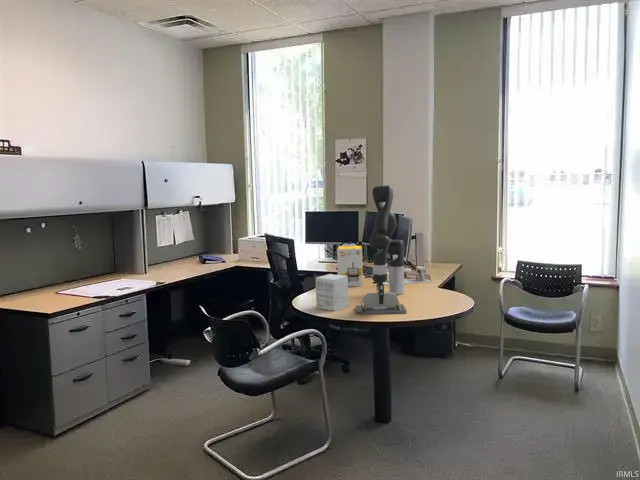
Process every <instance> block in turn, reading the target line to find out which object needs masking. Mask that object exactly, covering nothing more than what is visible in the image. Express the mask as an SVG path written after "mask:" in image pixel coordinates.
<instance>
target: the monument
mask: <svg viewBox="0 0 640 480" xmlns="http://www.w3.org/2000/svg"><path fill="white" fill-rule="evenodd" d="M414 269H415V278H409V279H408V278H407V279H404V285H411V284H420V283H429V282H432V280H430V279H427V278H426V270H427V268H426V267H425V266H424V267H423V266H415V267H414ZM383 284H384V286H388V287H389V281H386V282H383Z"/></svg>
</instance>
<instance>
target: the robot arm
mask: <svg viewBox="0 0 640 480" xmlns="http://www.w3.org/2000/svg"><path fill="white" fill-rule="evenodd" d="M372 198H373V202H374V205H375V207H376V211H377V215H376V217H375V220H374V227H373V231H372V234H371V236H370V238H369V246H370V248H371V249H374V250H382V251H381V252H377V253H374V254H373V256H372V257H373V258H372V259H373V261H372V263H373V265H372V267H373V268H372V281H373V282H374V283H376V284H375V285H376V293H378V294H379V304H383V297H384V293H385V284H383V282H389V286H388V292H392V293H394V294H396V295H397V296H398V295H403V294H405V284H404V280H405V267H404V265H405V264H404V263H405V241H404V240H402V239H392V235H393V234H394V232H395V231H396V228H397V226H398V224H397V219H396V215H395V214H394V212H393V211H391V209H392V204H393V199H394V190H393V187H392V186H391V185H378V186H374V187H373V188H372ZM387 255H391V256H392V255H393V256H397V257H396V258H394V259H391V260H389V261H388V265H387ZM387 266H388V267H387ZM380 294H382V295H380Z"/></svg>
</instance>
